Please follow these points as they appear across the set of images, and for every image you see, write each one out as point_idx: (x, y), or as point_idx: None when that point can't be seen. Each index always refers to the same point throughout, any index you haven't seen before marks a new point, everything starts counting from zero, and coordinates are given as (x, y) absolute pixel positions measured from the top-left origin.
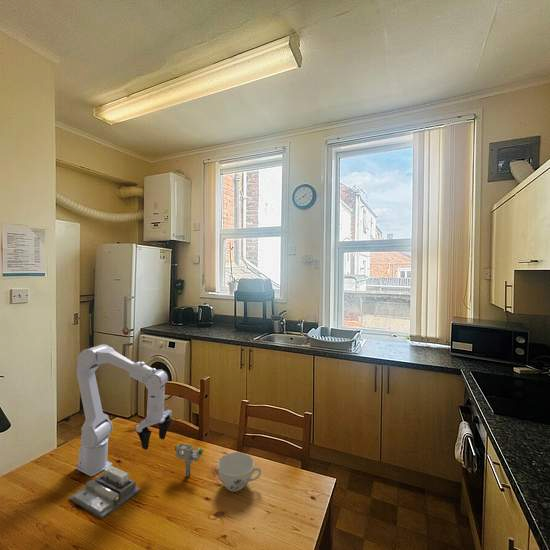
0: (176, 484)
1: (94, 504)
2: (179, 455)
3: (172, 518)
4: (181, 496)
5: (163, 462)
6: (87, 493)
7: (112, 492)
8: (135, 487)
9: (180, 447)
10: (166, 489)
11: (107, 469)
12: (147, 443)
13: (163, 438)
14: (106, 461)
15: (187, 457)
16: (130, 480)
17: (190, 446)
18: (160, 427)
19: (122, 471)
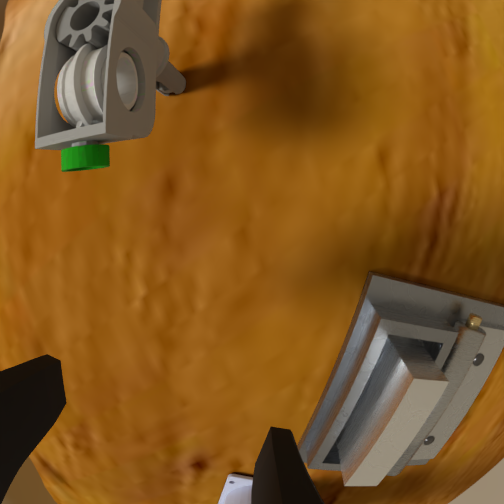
0: (265, 99)
1: (479, 377)
2: (143, 101)
3: (458, 33)
4: (342, 34)
5: (118, 290)
6: (426, 438)
7: (469, 359)
8: (369, 305)
9: (82, 104)
10: (321, 133)
11: (379, 475)
12: (301, 480)
13: (53, 365)
14: (244, 496)
15: (153, 24)
16: (375, 351)
17: (61, 22)
18: (5, 466)
19: (395, 418)
